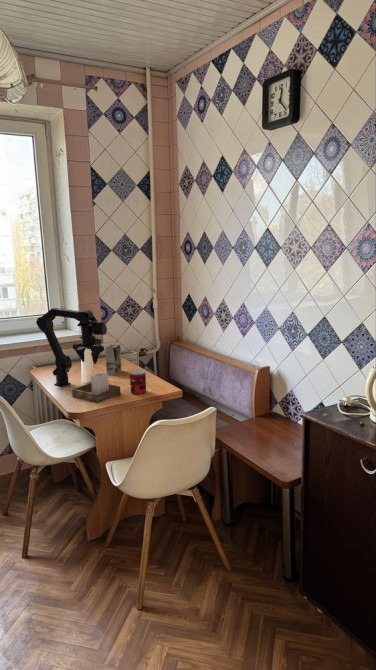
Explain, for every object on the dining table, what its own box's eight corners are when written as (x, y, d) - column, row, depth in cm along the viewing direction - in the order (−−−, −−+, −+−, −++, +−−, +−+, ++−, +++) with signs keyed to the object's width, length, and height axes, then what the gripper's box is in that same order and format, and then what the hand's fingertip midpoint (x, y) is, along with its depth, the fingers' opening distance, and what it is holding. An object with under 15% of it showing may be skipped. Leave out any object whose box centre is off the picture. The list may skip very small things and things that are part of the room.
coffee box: (116, 375, 276) (115, 348, 273) (106, 374, 277) (104, 347, 274) (122, 370, 285) (120, 344, 281) (111, 370, 286) (110, 344, 283)
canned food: (130, 390, 247) (129, 370, 245) (146, 389, 248) (145, 369, 245) (130, 395, 240) (129, 374, 237) (146, 394, 240) (145, 373, 238)
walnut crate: (72, 396, 239) (71, 389, 239) (95, 388, 252) (95, 381, 251) (97, 403, 229) (96, 395, 228) (120, 394, 242) (120, 386, 241)
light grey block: (92, 394, 240) (90, 375, 238) (101, 391, 244) (100, 372, 242) (99, 396, 236) (98, 377, 234) (109, 393, 240) (107, 374, 238)
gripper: (110, 333, 251) (112, 361, 254) (86, 330, 262) (88, 357, 265) (95, 337, 242) (97, 366, 245) (70, 333, 253) (73, 362, 256)
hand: (89, 363), depth 253 cm, fingers open, 9 cm apart
